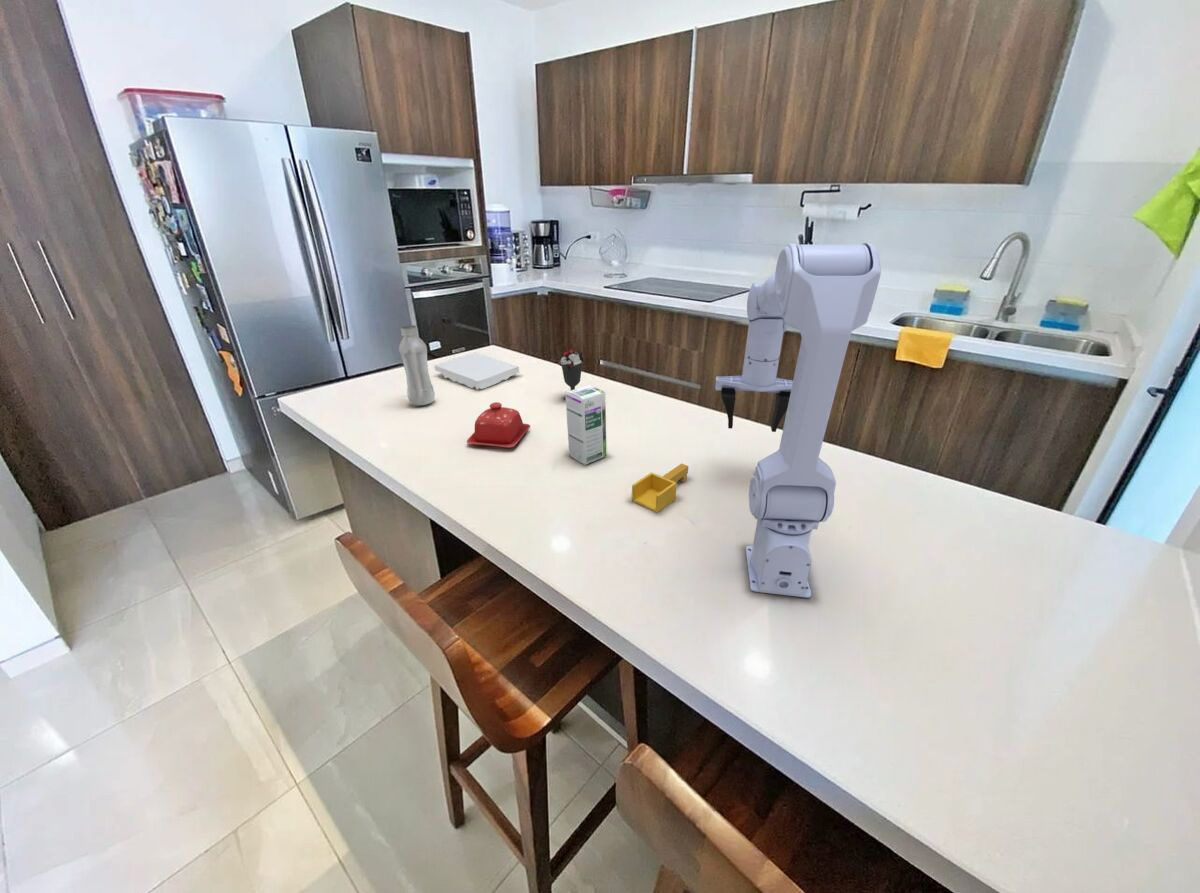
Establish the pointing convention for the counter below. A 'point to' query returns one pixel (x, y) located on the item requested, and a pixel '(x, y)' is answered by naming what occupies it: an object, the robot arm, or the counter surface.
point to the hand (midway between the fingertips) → (751, 427)
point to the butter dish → (498, 427)
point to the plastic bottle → (416, 367)
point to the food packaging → (477, 370)
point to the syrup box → (586, 423)
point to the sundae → (571, 367)
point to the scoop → (658, 488)
